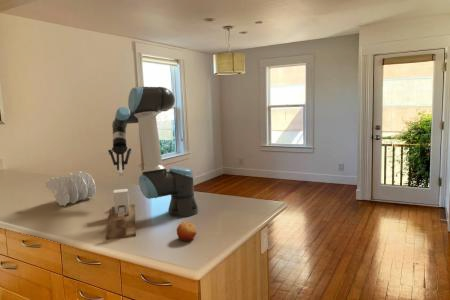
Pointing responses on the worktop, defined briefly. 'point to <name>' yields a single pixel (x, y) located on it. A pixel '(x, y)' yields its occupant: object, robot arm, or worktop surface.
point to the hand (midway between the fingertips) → (120, 174)
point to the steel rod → (121, 211)
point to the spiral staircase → (72, 187)
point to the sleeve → (121, 200)
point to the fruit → (186, 231)
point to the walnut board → (121, 224)
